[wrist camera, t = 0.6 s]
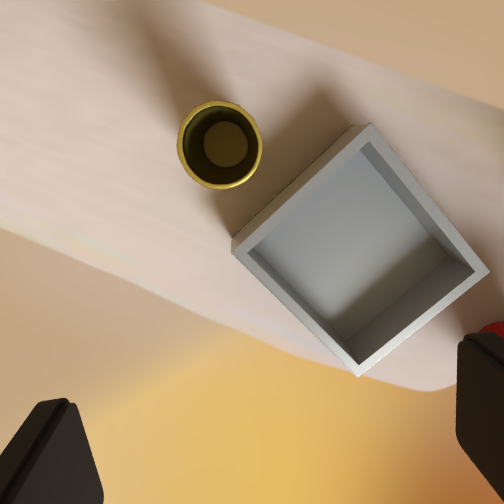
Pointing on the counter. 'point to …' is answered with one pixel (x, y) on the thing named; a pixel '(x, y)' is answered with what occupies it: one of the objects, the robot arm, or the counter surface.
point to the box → (358, 250)
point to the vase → (219, 145)
